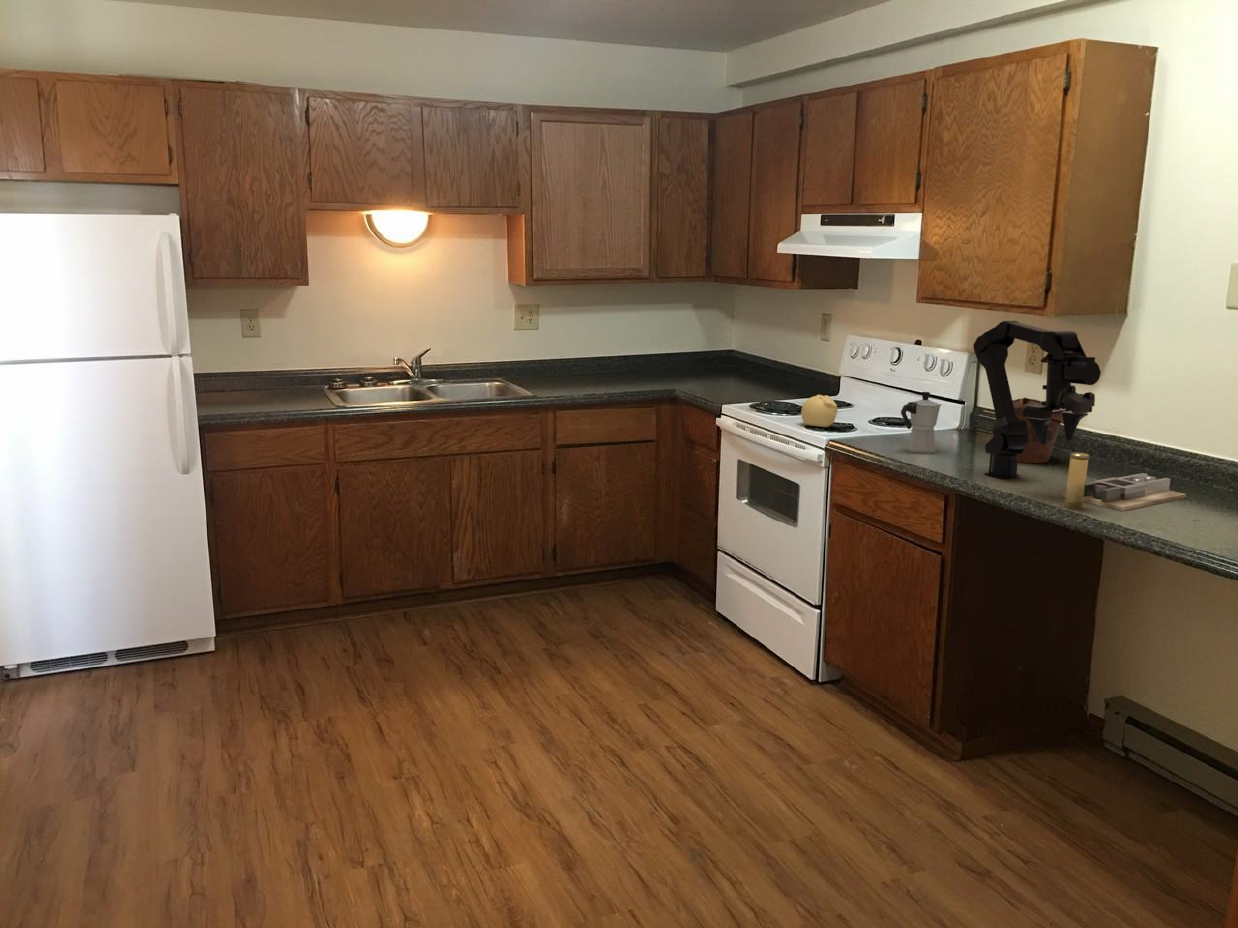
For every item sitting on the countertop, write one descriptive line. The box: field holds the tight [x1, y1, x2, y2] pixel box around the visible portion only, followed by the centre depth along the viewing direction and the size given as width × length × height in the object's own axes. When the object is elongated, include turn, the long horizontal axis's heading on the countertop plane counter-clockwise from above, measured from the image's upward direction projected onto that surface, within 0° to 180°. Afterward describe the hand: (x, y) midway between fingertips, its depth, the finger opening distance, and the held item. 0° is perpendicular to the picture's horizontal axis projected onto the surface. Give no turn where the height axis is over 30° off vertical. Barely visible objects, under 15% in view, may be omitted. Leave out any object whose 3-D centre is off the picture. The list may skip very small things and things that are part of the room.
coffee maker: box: [900, 391, 942, 455], centre depth 301 cm, size 15×9×18 cm, turn 113°
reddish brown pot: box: [1012, 396, 1064, 464], centre depth 294 cm, size 18×20×18 cm
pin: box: [1063, 452, 1090, 510], centre depth 240 cm, size 4×4×13 cm
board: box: [1061, 489, 1187, 512], centre depth 252 cm, size 16×27×1 cm, turn 122°
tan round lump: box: [800, 394, 838, 428], centre depth 340 cm, size 12×12×11 cm
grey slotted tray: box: [1084, 472, 1171, 503], centre depth 252 cm, size 8×27×3 cm, turn 121°
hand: (1056, 442), depth 255 cm, fingers open, 9 cm apart
